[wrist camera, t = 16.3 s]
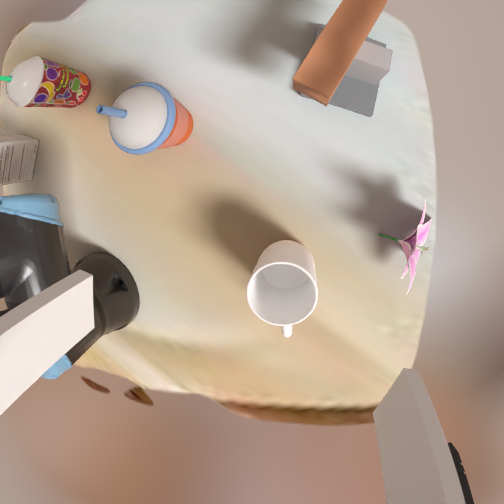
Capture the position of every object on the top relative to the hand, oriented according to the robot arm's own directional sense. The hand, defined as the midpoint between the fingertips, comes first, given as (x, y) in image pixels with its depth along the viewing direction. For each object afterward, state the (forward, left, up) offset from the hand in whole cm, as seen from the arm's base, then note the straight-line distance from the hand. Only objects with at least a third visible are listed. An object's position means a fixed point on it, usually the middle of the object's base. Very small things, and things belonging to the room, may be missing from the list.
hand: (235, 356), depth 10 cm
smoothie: (-41, +14, -32) cm, 54 cm away
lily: (+18, +2, -32) cm, 37 cm away
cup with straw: (-19, +9, -32) cm, 38 cm away
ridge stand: (+3, +23, -32) cm, 39 cm away
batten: (+2, +23, -23) cm, 33 cm away
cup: (+3, -9, -32) cm, 33 cm away
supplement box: (-56, 0, -32) cm, 64 cm away
